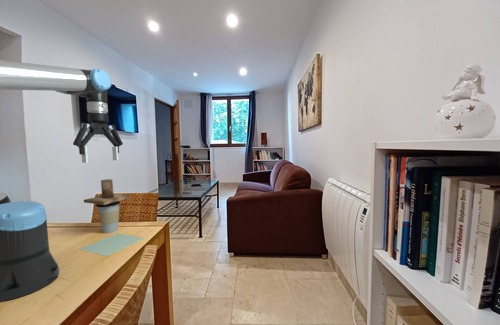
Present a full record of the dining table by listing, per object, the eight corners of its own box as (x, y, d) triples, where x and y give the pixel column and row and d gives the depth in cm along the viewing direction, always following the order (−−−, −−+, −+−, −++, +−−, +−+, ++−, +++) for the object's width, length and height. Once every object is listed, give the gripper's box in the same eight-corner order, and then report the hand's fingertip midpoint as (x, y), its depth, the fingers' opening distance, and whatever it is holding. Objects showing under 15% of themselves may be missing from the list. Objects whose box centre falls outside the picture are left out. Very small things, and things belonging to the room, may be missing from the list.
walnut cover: (103, 204, 94) (102, 183, 93) (83, 202, 99) (82, 181, 98) (130, 197, 106) (129, 178, 105) (111, 195, 111) (110, 177, 110)
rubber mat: (107, 257, 80) (107, 256, 80) (78, 250, 86) (78, 249, 86) (144, 239, 94) (144, 238, 94) (117, 234, 100) (117, 233, 100)
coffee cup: (114, 235, 99) (111, 202, 98) (93, 236, 99) (90, 202, 98) (126, 227, 108) (124, 197, 107) (107, 228, 108) (104, 197, 107)
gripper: (71, 108, 85) (75, 163, 87) (129, 115, 108) (131, 159, 110) (59, 109, 88) (64, 163, 90) (118, 116, 111) (121, 159, 113)
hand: (101, 161), depth 100 cm, fingers open, 13 cm apart
